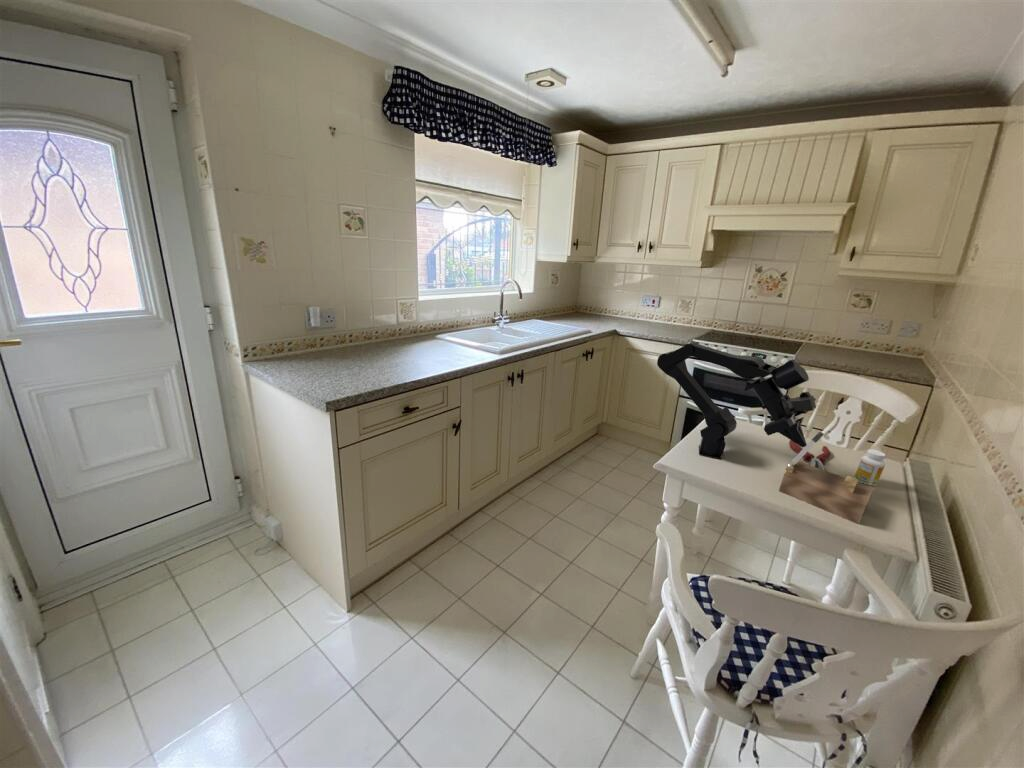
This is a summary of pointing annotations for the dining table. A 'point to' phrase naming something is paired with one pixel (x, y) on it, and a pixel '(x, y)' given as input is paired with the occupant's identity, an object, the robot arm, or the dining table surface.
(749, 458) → the dining table surface
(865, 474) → the supplement bottle
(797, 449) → the pliers
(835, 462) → the dining table surface
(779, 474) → the dining table surface
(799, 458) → the latch lever
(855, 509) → the storage box
